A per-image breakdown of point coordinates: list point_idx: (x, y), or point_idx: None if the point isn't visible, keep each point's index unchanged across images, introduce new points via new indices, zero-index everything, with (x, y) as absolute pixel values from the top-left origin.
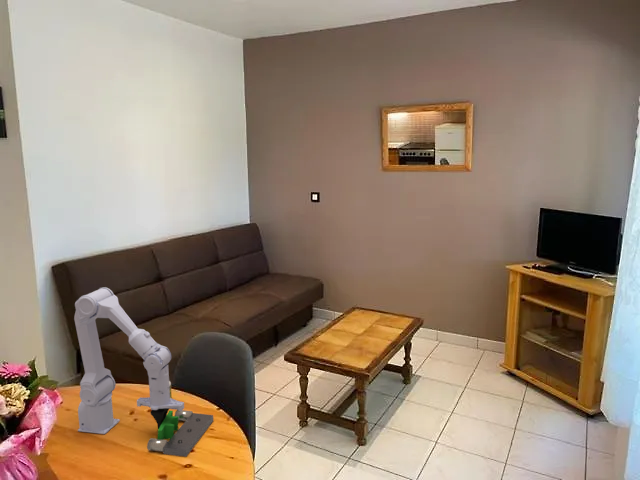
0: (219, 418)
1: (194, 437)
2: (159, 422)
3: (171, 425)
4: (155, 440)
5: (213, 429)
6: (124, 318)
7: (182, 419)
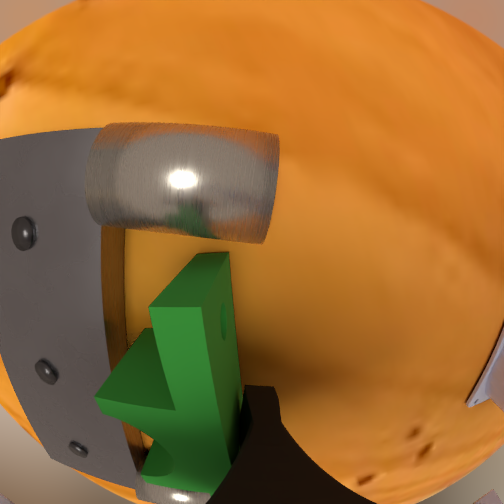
0: None
1: None
2: (257, 440)
3: (111, 402)
4: (193, 168)
5: None
6: None
7: None
